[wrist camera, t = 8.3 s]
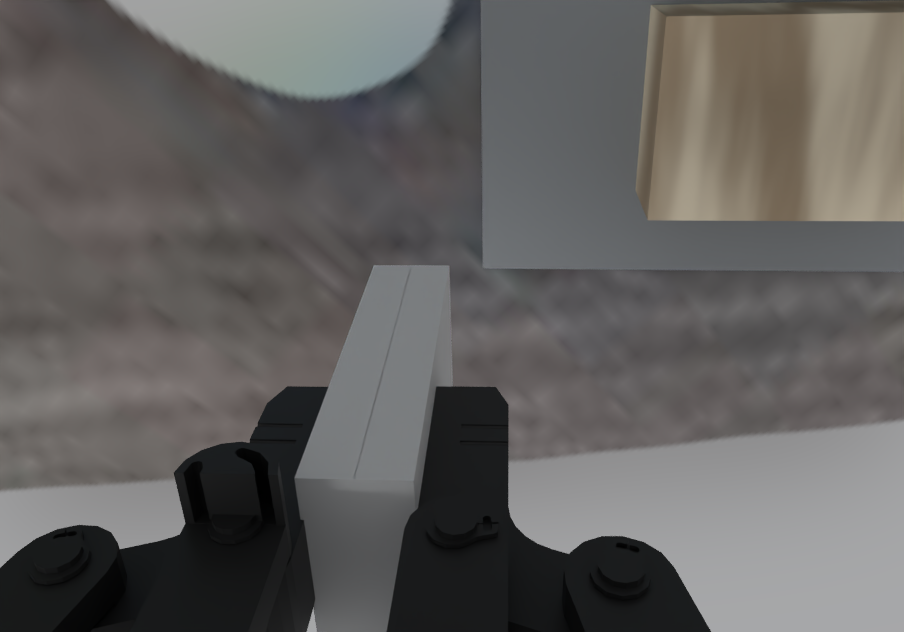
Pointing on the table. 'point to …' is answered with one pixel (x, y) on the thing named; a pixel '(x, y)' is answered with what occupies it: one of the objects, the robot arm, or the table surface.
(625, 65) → the rubber mat
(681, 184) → the maple block
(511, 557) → the robot arm
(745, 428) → the table surface
